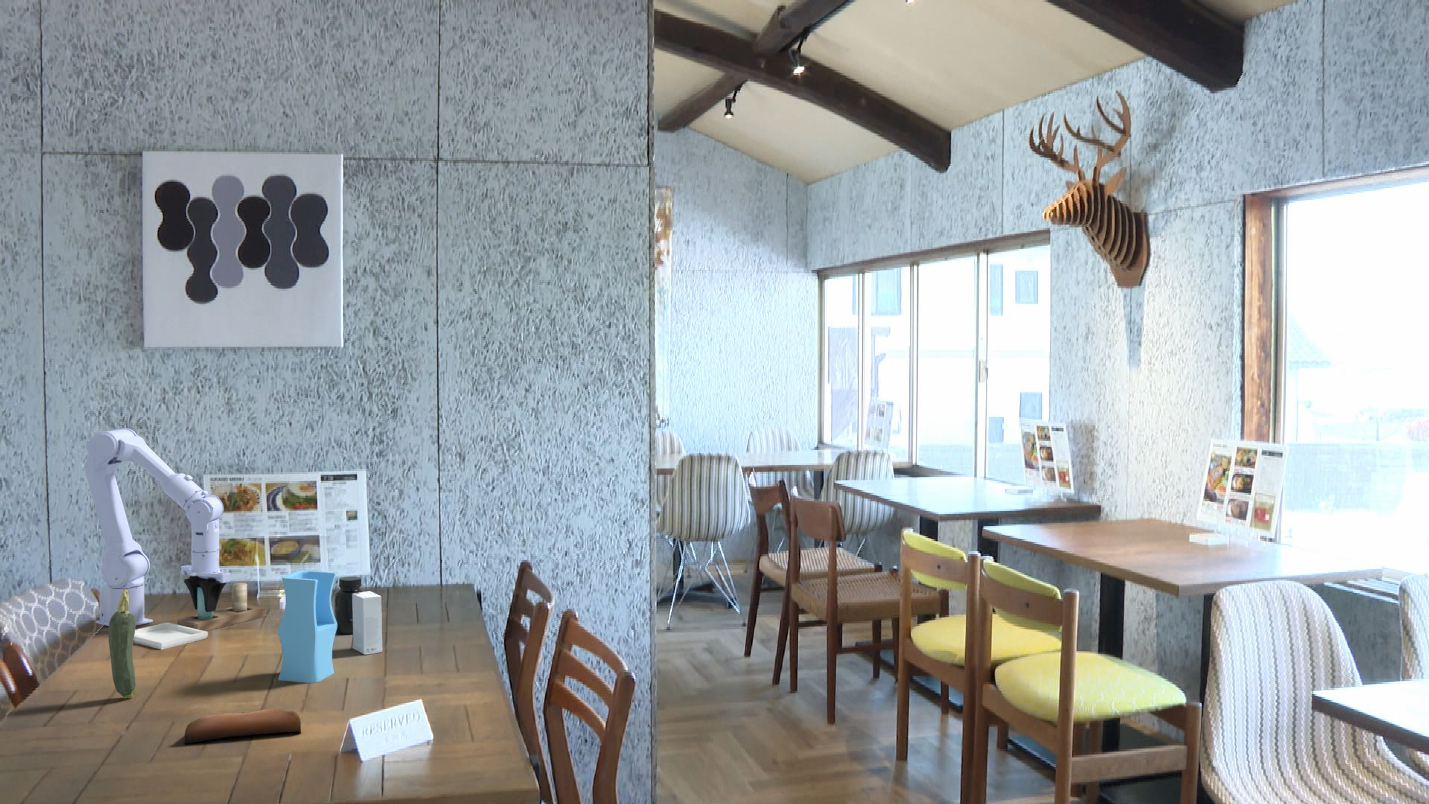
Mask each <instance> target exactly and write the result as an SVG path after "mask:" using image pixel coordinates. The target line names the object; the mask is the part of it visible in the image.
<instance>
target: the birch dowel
mask: <svg viewBox="0 0 1429 804" xmlns="http://www.w3.org/2000/svg"><path fill="white" fill-rule="evenodd" d="M231 586H232V587H231V607H232V612H236V613H239V612H244V611H247V604H248V583H246V582H236V583H232V584H231Z"/></svg>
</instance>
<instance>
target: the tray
mask: <svg viewBox="0 0 1429 804" xmlns="http://www.w3.org/2000/svg"><path fill="white" fill-rule="evenodd" d="M208 638H209V632H208V630H207V631H202V630H198V629H194V628H189V627H185V626H181V625H178V624H176V623H172V622H168V621H167V622H163V623H158V624H154V625H149V626H145V627H140V628H137V629H136V628H135V635H134V640H133V644H138V645H142V646H146V647H150V648H154V649H157V650H160V651H161V650H166V649H171V648H173V647H174V648H175V647H178V646H182V645H186V644H190V643H194V642H197V641H203V640H206V639H208Z"/></svg>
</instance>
